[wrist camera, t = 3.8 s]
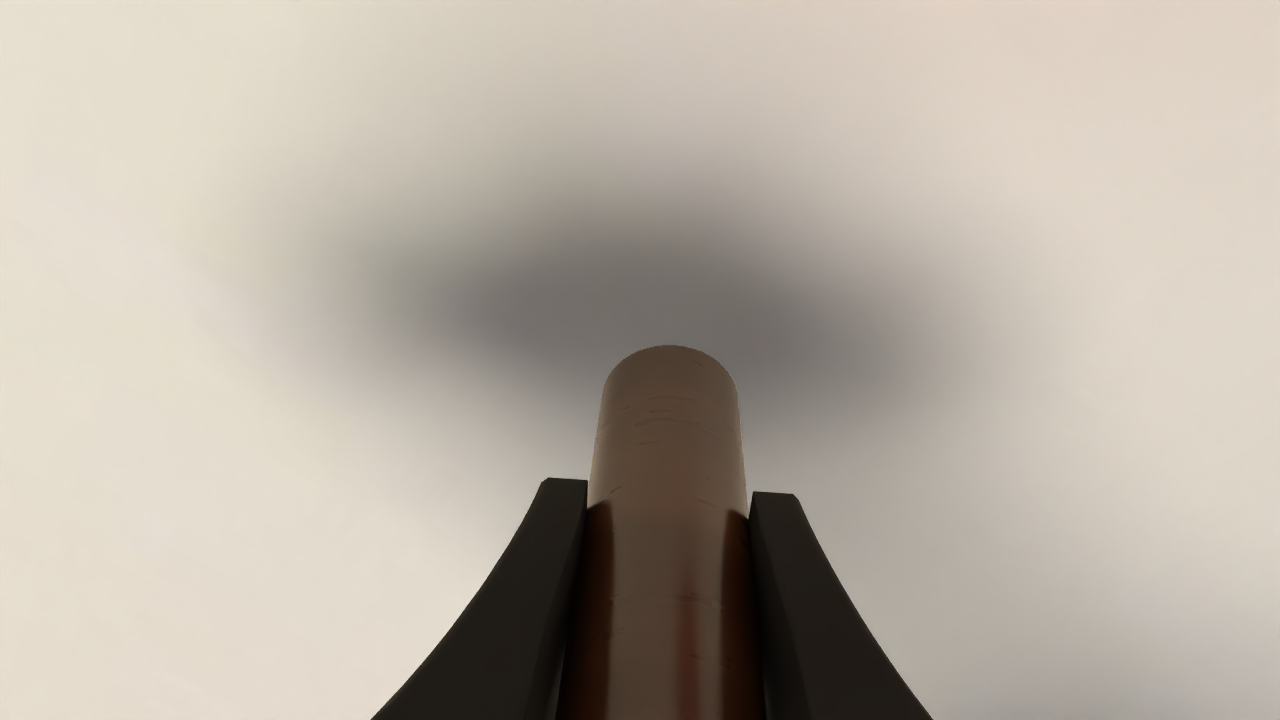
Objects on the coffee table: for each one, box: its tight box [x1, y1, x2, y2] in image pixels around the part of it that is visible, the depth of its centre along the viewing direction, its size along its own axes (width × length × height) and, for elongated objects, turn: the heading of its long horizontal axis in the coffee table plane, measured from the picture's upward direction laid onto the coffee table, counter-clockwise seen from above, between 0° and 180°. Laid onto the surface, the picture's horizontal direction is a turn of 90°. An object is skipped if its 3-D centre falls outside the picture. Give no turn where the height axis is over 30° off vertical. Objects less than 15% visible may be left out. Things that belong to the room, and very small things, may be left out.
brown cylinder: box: [555, 345, 767, 720], centre depth 12 cm, size 3×3×9 cm
